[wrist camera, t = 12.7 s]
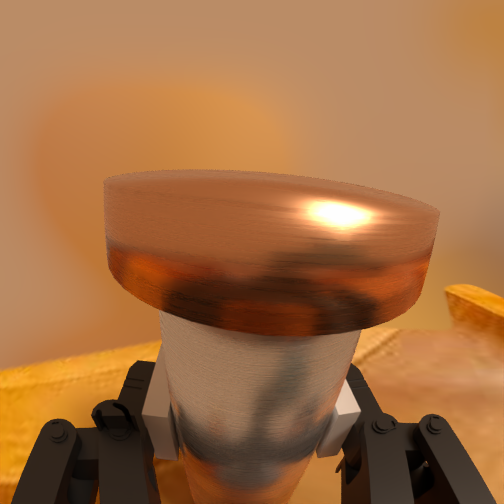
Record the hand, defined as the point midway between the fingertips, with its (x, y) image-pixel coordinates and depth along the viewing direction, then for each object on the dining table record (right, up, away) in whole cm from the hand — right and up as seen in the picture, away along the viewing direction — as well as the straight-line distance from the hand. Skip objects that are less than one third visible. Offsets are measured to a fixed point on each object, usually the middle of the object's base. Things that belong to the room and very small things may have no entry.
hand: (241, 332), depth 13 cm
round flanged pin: (0, -10, -2) cm, 10 cm away
